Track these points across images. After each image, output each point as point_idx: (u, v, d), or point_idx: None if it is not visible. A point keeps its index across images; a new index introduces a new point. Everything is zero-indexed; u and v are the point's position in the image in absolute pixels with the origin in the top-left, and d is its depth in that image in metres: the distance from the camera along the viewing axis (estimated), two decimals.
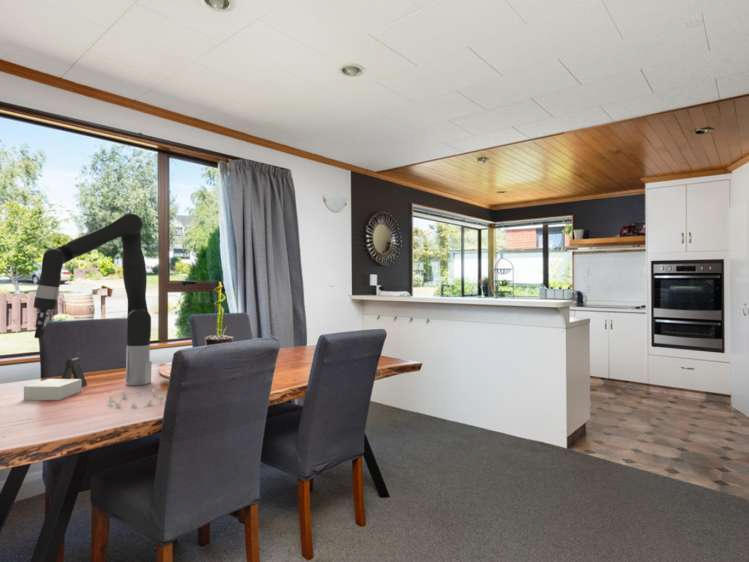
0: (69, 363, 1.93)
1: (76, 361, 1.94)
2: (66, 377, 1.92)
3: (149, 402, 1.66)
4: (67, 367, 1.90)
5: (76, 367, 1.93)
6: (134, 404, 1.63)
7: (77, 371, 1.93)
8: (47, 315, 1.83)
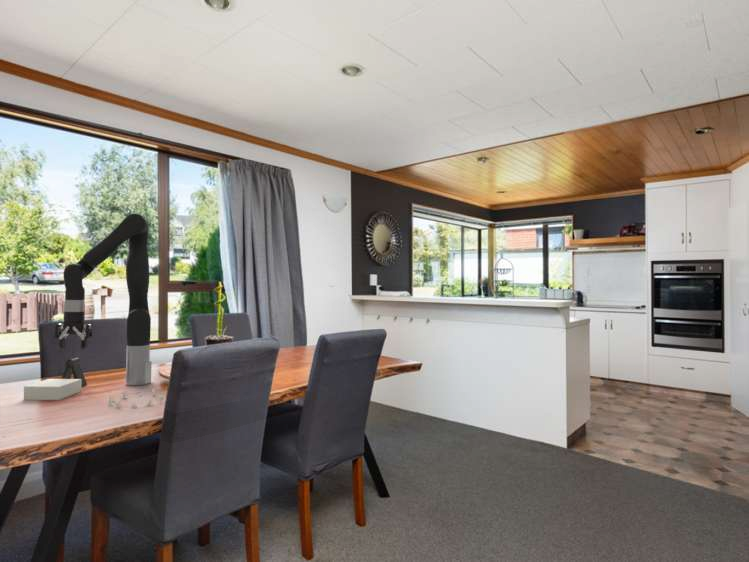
0: (69, 363, 1.93)
1: (76, 361, 1.94)
2: (66, 377, 1.92)
3: (149, 402, 1.66)
4: (67, 367, 1.91)
5: (76, 367, 1.93)
6: (134, 404, 1.63)
7: (77, 371, 1.93)
8: None
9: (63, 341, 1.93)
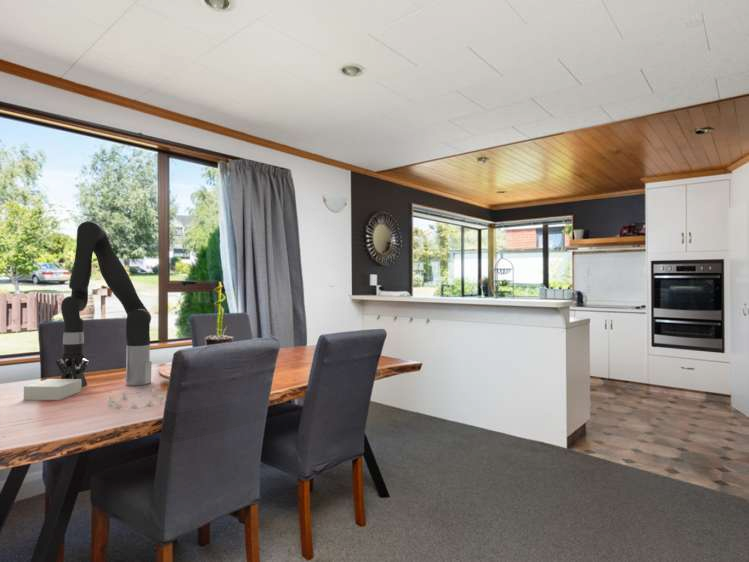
0: None
1: None
2: (66, 377, 1.92)
3: (149, 402, 1.66)
4: (67, 367, 1.91)
5: None
6: (134, 404, 1.63)
7: (76, 371, 1.93)
8: None
9: (70, 376, 1.93)
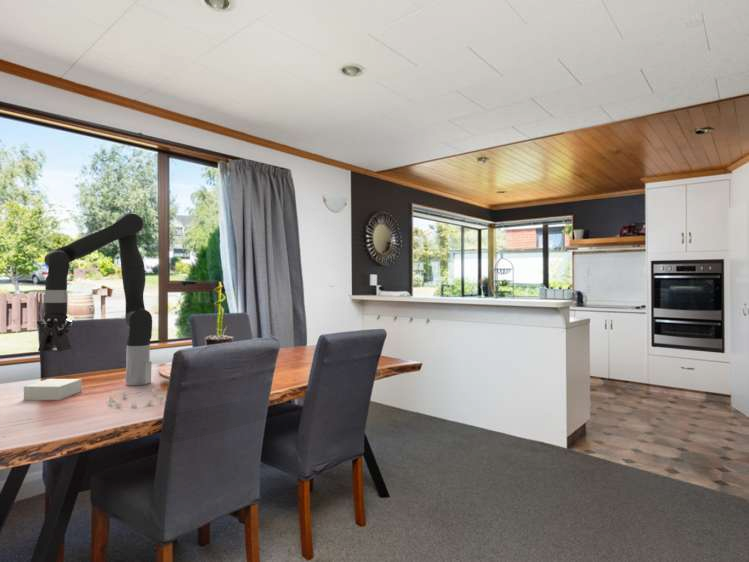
0: None
1: None
2: (47, 339, 1.77)
3: (149, 402, 1.66)
4: (48, 328, 1.76)
5: None
6: (134, 404, 1.63)
7: (58, 333, 1.77)
8: None
9: (52, 338, 1.78)
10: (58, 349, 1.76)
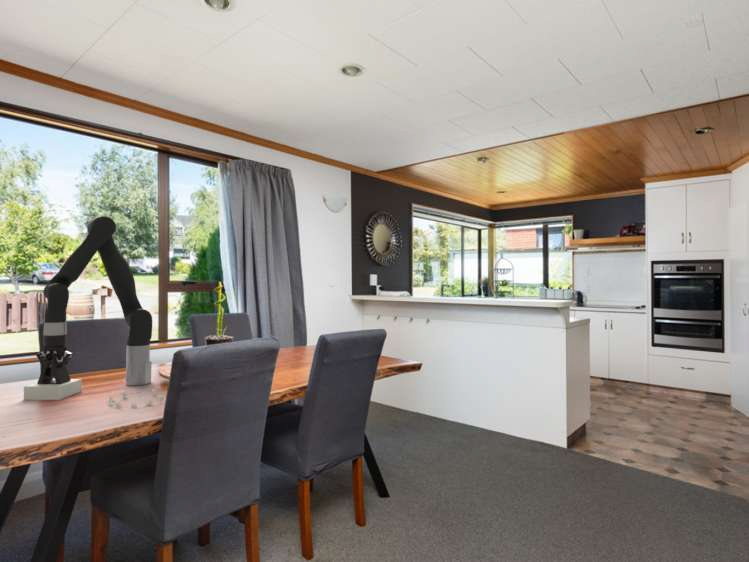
0: None
1: None
2: (47, 372, 1.77)
3: (149, 402, 1.66)
4: (47, 361, 1.76)
5: None
6: (134, 404, 1.63)
7: (58, 366, 1.77)
8: None
9: (52, 370, 1.78)
10: (57, 382, 1.76)
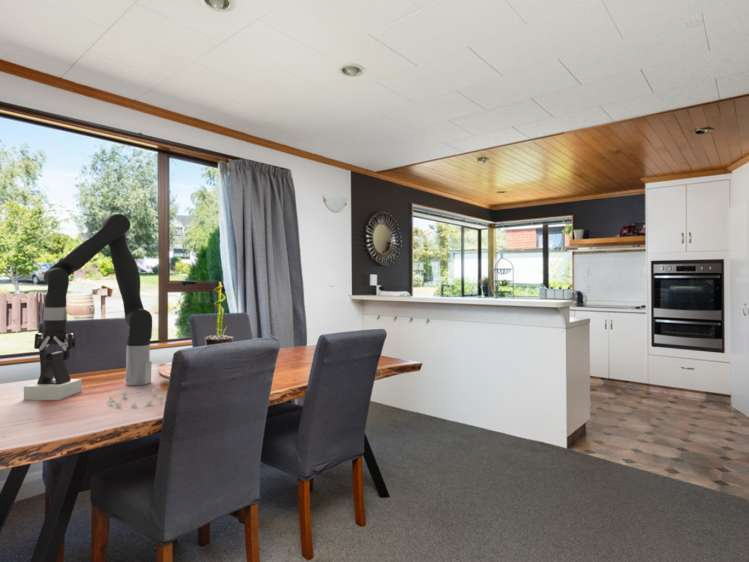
0: (50, 357, 1.78)
1: (58, 355, 1.78)
2: (47, 372, 1.77)
3: (149, 402, 1.66)
4: (47, 361, 1.76)
5: (57, 361, 1.78)
6: (134, 404, 1.63)
7: (58, 366, 1.77)
8: None
9: (44, 352, 1.78)
10: (57, 382, 1.76)
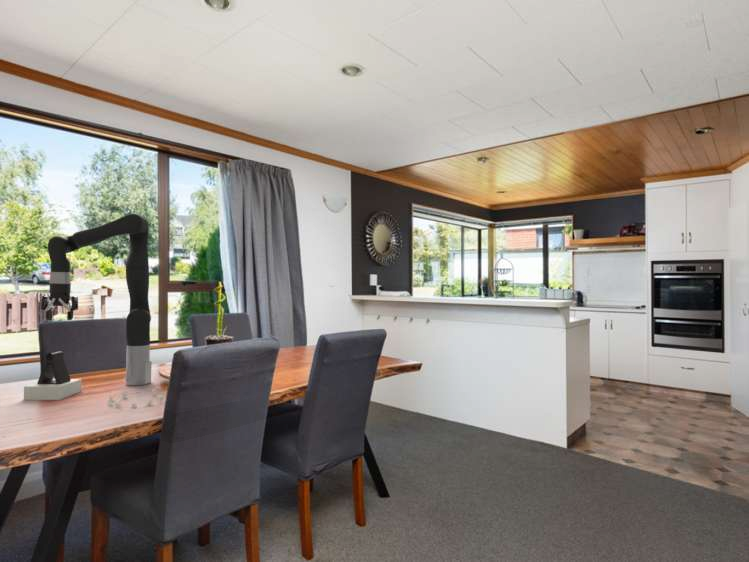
0: (50, 357, 1.78)
1: (58, 355, 1.78)
2: (47, 372, 1.77)
3: (149, 402, 1.66)
4: (47, 361, 1.76)
5: (57, 361, 1.78)
6: (134, 404, 1.63)
7: (58, 366, 1.77)
8: None
9: (49, 313, 1.96)
10: (57, 382, 1.76)
